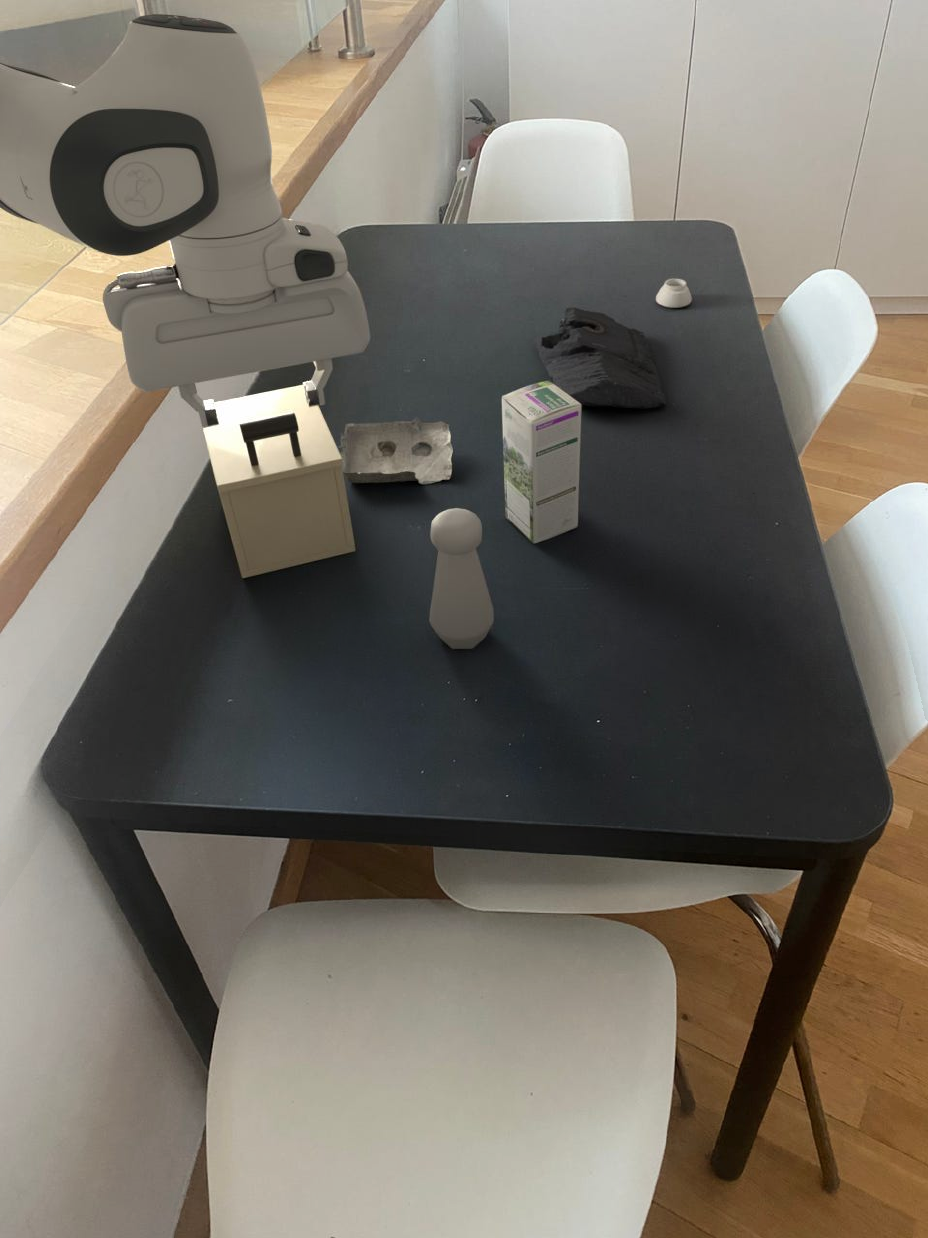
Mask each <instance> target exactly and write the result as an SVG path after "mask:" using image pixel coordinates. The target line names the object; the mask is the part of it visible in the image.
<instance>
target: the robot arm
mask: <svg viewBox="0 0 928 1238" xmlns="http://www.w3.org/2000/svg"><path fill="white" fill-rule="evenodd" d="M267 117H268V116H267V112H266V107H265V102H264V99H263V94H262V89H261V85H260V82H259V78H258V74H257V72H256V68H255V65H254V61H253V59H252V56H251V53H250V51H249V48H248V46H247V44H246V42H245V41H244V39H243V37H242V36H241V34H239V33H238V32H237V31H236V30H235V29H234V28H233V27H231V26H229V25H228V24H226V23H223V22H220V21H217V20H216V21H215V20H210V19H207V18H201V17H198V18H197V17H188V16H187V15H186V16H185V15H177V14H175V15H174V14H161V13H160V14H158V13H157V14H156V13H153V14H145V15H140V16H138V17H136V18H134V19H132V20H131V21H130V22H129V23H128V27H127V30H126V34H125V35H124V37H123V39H122V40H121V42H120V44H118V46H117V47H116V49H115V50H114V52H113V53H112V54H111V56H110V57H109V58H108V59H107V60H106V61H105V62H104V63H103V64H102V65H101V66H100V67H99V68H98V69H97V70H96V71H95V72H93V74H92V75H90V76H89V77H87V79H85V80H83V81H82V82H81V83H79V84H77V85H76V86H74V85H73V86H72V85H69V84H66V83H64V82H61V81H59V80H57V79H55V78H53V77H50V76H48V75H45V74H43V73H40V72H37V71H33V70H31V69H28V68H27V69H26V68H22V67H18V66H13V65H9V64H5V63H2V62H0V209H2V210H3V211H5V213H8V214H10V215H12V216H14V217H16V218H19V219H22V220H25V221H28V222H31V223H34V224H37V225H40V226H42V227H44V228H46V229H48V230H50V231H52V232H54V233H56V234H58V235H60V236H62V237H64V238H66V239H68V240H71V241H72V242H75V243H77V244H78V245H81V246H83V247H85V248H88V249H90V250H93V251H96V252H97V253H102V254H106V255H110V256H116V257H128V256H135V255H139V254H142V253H145V252H147V251H150V250H152V249H154V248H156V247H159V246H161V245H163V244H165V243H167V242H169V245H170V248H171V253H172V257H173V261H174V264H172V265H166V266H160V267H154V268H151V269H147V270H144V271H143V270H142V271H138V272H137V271H136V272H134V271H128V272H127V271H126V272H123V273H119V274H118V275H116V279H114V280H113V281H110V282H109V283H108V284H107V285H106V287H105V288H104V290H103V293H102V304H103V307H104V309H105V313H106V316H107V319H108V321H109V323H110V324H111V326H112V327H113V328H114V329H116V330H117V331H119V332H120V333H121V340H122V346H123V351H124V357H125V363H126V367H127V371H128V375H129V376H128V377H129V379H130V383H131V384H132V385H133V386H135V387H136V388H137V389H139V390H140V391H142V392H144V393H150V392H154V391H155V392H156V391H160V390H166V389H171V388H172V389H173V388H177V387H178V391H179V395H180V398H181V399H183V400H184V401H185V402H186V403H187V404H188V405H189V406H190V407H191V408H192V409H193V410H194V411H195V412H197V413H198V417H199V420H200V424H201V428H202V427H203V428H206V427H211V426H216V425H219V421H218V417H217V413H216V409H215V405H214V403H215V401H214V399H207V400H204V399H203V398H202V397H201V396H200V395H199V394H197V393H198V390H197V386H196V384H199V383H204V382H209V381H216V380H220V379H226V378H232V377H237V376H242V375H243V376H244V375H249V374H253V373H260V372H264V371H269V370H276V369H280V368H281V369H282V368H287V367H293V366H297V365H303V364H307V363H313V365H314V366H315V370H314V372H313V373H314V374H313V375H312V377H311V380H309V381H308V380H307V381H304V382H302V385H303V386H304V390H305V398H306V401H307V404H308V406H309V407H314V406H319V407H320V406H324V405H326V399H325V392H324V388H326V385H327V383H328V381H329V378H330V376H331V374H332V372H333V370H334V366H333V360H332V359H335V358H340V357H346V356H347V357H348V356H351V355H358V354H361V353H364V351H365V350H366V348H367V347H368V345H369V343H370V342H371V331H370V326H369V318H368V315H367V310H366V307H365V302H364V299H363V295H362V293H361V290H360V288H359V286H358V284H357V282H356V281H355V279H354V278H353V276H352V274H351V273H350V272H349V270H348V267H349V263H348V256H347V253H346V249H345V247H344V245H343V243H342V241H341V240H340V239H339V238H338V236H337V235H336V234H335V232H333V231H332V230H331V229H330V228H328V226H326V225H323V224H319V223H314V222H309V221H303V220H295V219H290V218H284V216H283V215H284V214H283V211H282V206H281V203H280V200H279V198H278V196H277V193H276V191H275V189H274V185H273V181H272V161H273V147H272V143H271V142H272V141H271V135H270V128H269V124H268V118H267ZM117 286H118V287H117ZM203 428H202V429H203Z"/></svg>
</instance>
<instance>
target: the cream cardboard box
mask: <svg viewBox="0 0 928 1238" xmlns="http://www.w3.org/2000/svg"><path fill="white" fill-rule="evenodd" d="M218 494H219V498H220V502H221V506H222V509H223V514H224V516H225V521H226V525H227V528H228V531H229V534H230V538H231V542H232V546H233V549H234V553H235V557H236V560H237V564H238V568H239V572H240V576H241V578H242V579H246V578H250V577H254V576H258V575H262V574H267V573H270V572H274V571H278V570H283V569H288V568H291V567H295V566H299V565H304V564H308V563H312V562H316V561H320V560H324V559H325V560H326V559H329V558H332V557H336V556H341V555H346V554H349V553H353V552H356V545H355V544H356V543H355V539H354V533H353V532H354V531H353V526H352V525H353V524H352V519H351V514H350V507H349V500H348V495H347V489H346V483H345V475H344V472H343V469H342V466H339V467H335V468H330V469H326V470H321V471H317V472H312V473H308V474H303V475H298V476H294V477H289V478H285V479H280V480H276V481H271V482H267V483H262V484H258V485H253V486H249V487H244V488H240V489H235V490H231V491H226V492H222V493H219V492H218Z"/></svg>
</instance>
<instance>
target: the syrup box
mask: <svg viewBox="0 0 928 1238" xmlns="http://www.w3.org/2000/svg"><path fill="white" fill-rule="evenodd" d="M501 418H502V420H501V421H502V448H503V450H502V451H503V475H504V476H503V480H504V507H505V512H504V513H505V518H506V519H507V520H508V521H509V522H510V523H511V524H512V525H513V526H514V527H515V528H516V529H518V530H519V532H521V533H522V535H524V536H525V538H527V540H528V541H530V542H531V543H532V544H538V543H541V542H543V541H546V540H549V539H551V538H554V537H556V536H559V535H561V534H564V533H566V532H568V531H571V530H574V529H576V528H578V526H579V497H580V495H579V494H580V465H581V464H580V461H581V437H582V436H581V433H582V406H581V404H580V403H579V402H578V401H576V400H575V399H573V398H572V397H571V396H569V395H568V394H567V393H565V392H564V391H562V390H561V389H560V388H558V387H557V386H556V385H555V384H554V383H553V381H552V382H551V380H545V381H540V382H537V383H533V384H529V385H526V386H524V387H521V388H518V389H516V390H513V391H511V392H509V393H506V394H504V395H502V396H501Z"/></svg>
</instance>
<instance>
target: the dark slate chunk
mask: <svg viewBox="0 0 928 1238" xmlns="http://www.w3.org/2000/svg"><path fill="white" fill-rule="evenodd" d="M533 344H534V345H535V347H536V350H537V353H538V355H539V359H540V360H541V363H542V364H543V365H544V368H545V369H546V371H547V373H548V376H549V378H551V380H552V383H553V384H554V385H556V386H557V387H558V388H560V389H561V390H562V391H564V392H565V393H567V394H568V395H569V396H571V397H572V398H573V399H575V400H576V401H578V402H579V403H580V404H581V407H586V406H587V407H614V408H620V409H641V410H642V409H643V410H649V409H652V408H653V409H655V408H656V409H657V408H659V407H665V406H667V401H666V396H665V394H664V392H663V386H662V383H661V380H660V377H659V372H658V370H657V367H656V366H655V361H654V358H653V356H652V354H651V351H650V348H649V345H648V341H647V339H646V336H645V334H644V332H643V331H640V330H638V329H636V328H629V327H627V326H625V325H623V324H622V323H619V322H618V321H616V320H615V319H614V318H613V317H610V316H609V315H607V314H605V313H602V312H598V311H592V310H591V311H590V310H584V309H581V308H578V307H574V306H573V307H566V310H565V312H564V317H563V318H562V319H561V320H560V322H559V325H558V331H557V333H556V332H555V333H551V334H547V335H545V334H544V335H538V336H534V337H533Z"/></svg>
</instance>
